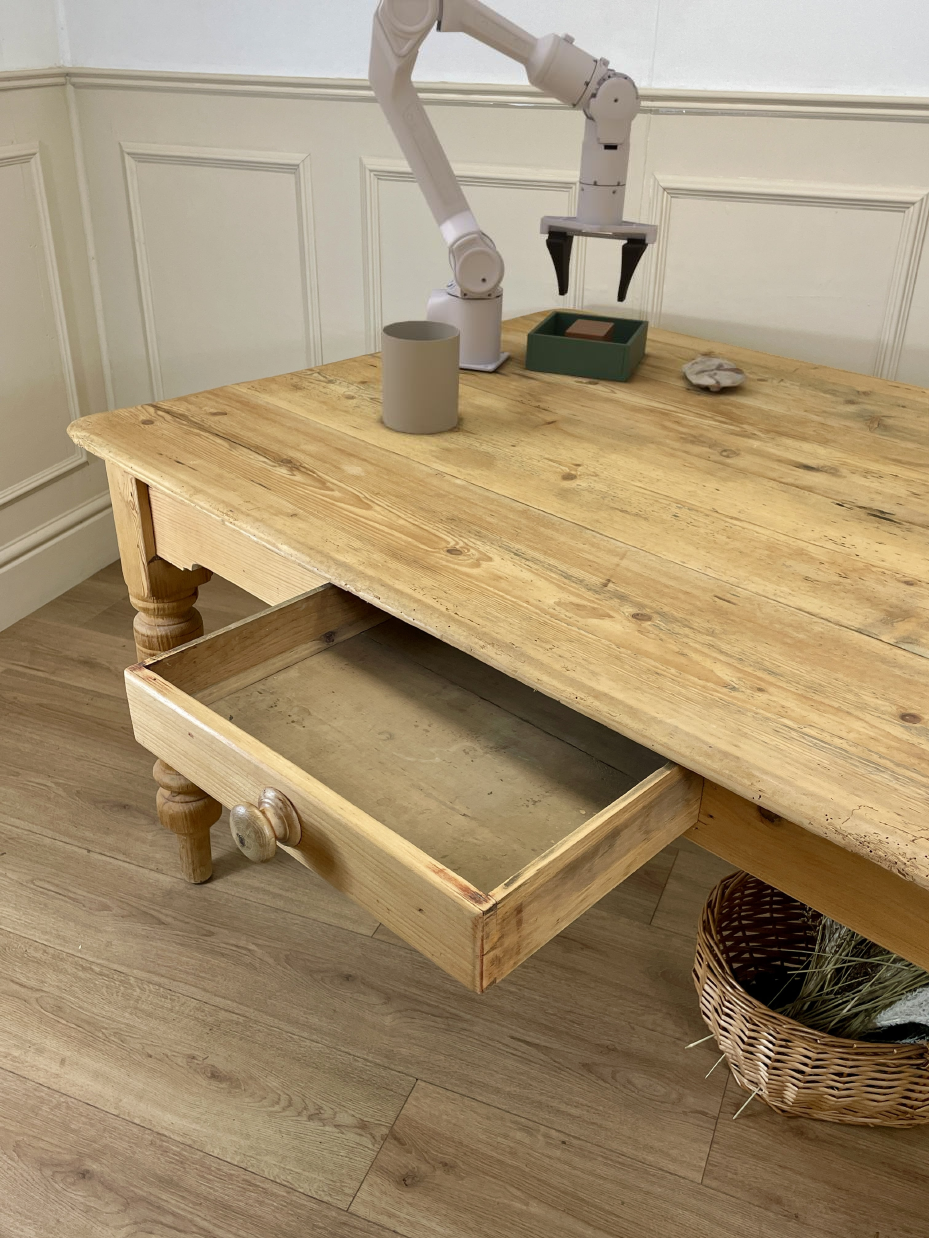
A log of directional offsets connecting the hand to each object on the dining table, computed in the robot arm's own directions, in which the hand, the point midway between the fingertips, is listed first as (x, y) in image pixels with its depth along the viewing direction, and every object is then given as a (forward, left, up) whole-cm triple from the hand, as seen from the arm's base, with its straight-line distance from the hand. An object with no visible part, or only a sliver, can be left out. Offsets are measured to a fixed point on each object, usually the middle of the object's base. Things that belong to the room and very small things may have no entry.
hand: (592, 297), depth 128 cm
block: (0, 0, -8) cm, 8 cm away
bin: (0, 0, -8) cm, 8 cm away
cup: (-12, -30, -9) cm, 34 cm away
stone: (+17, -3, -9) cm, 19 cm away
